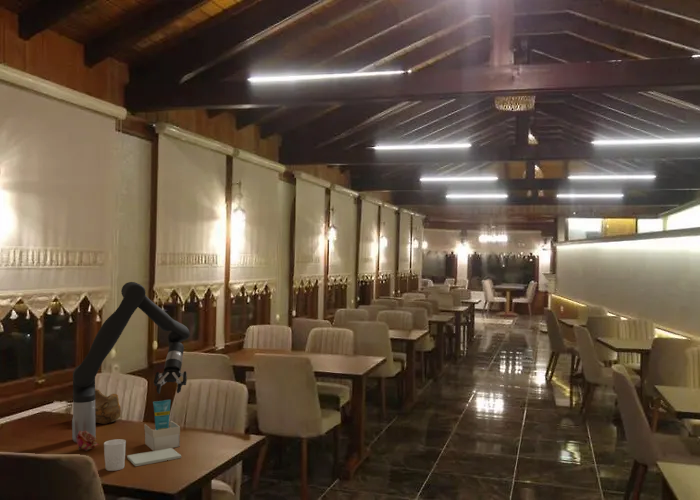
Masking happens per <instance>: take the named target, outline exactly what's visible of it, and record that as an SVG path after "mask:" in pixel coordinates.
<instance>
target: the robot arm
mask: <svg viewBox="0 0 700 500" xmlns="http://www.w3.org/2000/svg"><path fill="white" fill-rule="evenodd" d="M146 293H147V292H146V289H145V287H144V286H143V285H142V284H141V283H140V284H139V283H138V282H136V281H129V282H126V283H124V284H123V285H122V288H121V296H122V300H121V302H120V304H119V305H118V307H117V308H116V310H115V311H114V312H113V313H111V314H110V315H109V317H107V318H106V319H105V321H104V322H103V323H102V325H101V327H100V328H99V330H98V332H97V333H96V335H95V338H94V339H93V342H92V344H91V346H90V349H89V351H88V353H87V354H86V356H85V357H84V359H83V360H82V362H81V363H80V364H79V365H77V366H76V367H75V369H74V370H73V372H72V413H73V414H72V418H71V420H72V421H71V428H72V429H71V432H72V437H71V438H72V441H73V442H74V443H77V439H76V436H77V434H78V433H79V431H87V432H89V433H90V434H91V435H93V436H94V437H96V435H97V434H96V433H97V432H96V422H95V389H96V377H97V375H98V372H99V370H100V368H101V366H102V364H103V362H104V360H105V359H106V358H107V356H108V355H109V354H110V352H111V351H112V349H113V348H114V347H115V345H116V343H117V342H118V340H119V338H120V337H121V335H122V334H123V331H124V330H125V328H126V326H127V325H128V323H129V321H130V319H131V317H132V316H133V314H134V313H135V311H136V310H137V309H138V308H139V309H140V310H141V311H142V312H143V313H144V314H145V316H147V317H148V318H149V319H150V320H151V321H152V322H153V323H154V324H155V325H156V326H158V328H160V329H161V330H162V331H163V332H168V334H167V343H168V350H167V355H166V358H165V362H164V368H163V372H161V373H160V372H159V371H157V372H156V373H155V376H154V379H153V384H154V386H155V387H156V389H155V390H156V393H157V395H158V394H159V395H160V394H161V392H162V391H161V390H162V386H163V385H165V384H166V383H176V384H177V388H176V393H177V394H180V392H181V391H182V386H187V383H188V382H187V379H188V373H187V371H183V372H182V365H183V358H184V357H183V356H184V350H185V346H184V344H183V343H182V342H184V341H186V340H188V339H190V336H191V332H190V329H189V328H188V327H187V326H186V325H184V324H183V323H181V322H179V321H178V320H176V319H173V318H172V317H171V316H170V315H169V314H168V313H167V312H166V311H165V310H164V309H162V308H161V307H160V306H158V305H157V304H156V303H155V302H153V300H151V299H150V298H149V297H148V296H147V295H146ZM181 377H182V380H181V379H180V378H181ZM96 438H97V437H96Z"/></svg>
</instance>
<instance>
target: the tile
mask: <svg viewBox="0 0 700 500" xmlns="http://www.w3.org/2000/svg"><path fill="white" fill-rule="evenodd" d="M126 458H127V460H128V461H129V462H130V463H131V464H132V465H134V467H139V466H140V467H141V466H145V465H151V464H155V463H161V462H167V460H168V461H173V460H178V459H182V455H181V453H179V452H177V451H176V449H174V448H167V449H161V450H156V451H153V450H152V451H145V452H140V453H139V452H138V453H133V454H128V455H127V454H126Z"/></svg>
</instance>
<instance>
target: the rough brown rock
mask: <svg viewBox="0 0 700 500" xmlns="http://www.w3.org/2000/svg"><path fill="white" fill-rule="evenodd" d="M121 415H122V407H121V405H120V401H119V395H118V394H117V393H111V394H109V395H108V396H107V395H105V394H104V393H102V391H100V389H97V388H95V423H97V424H101V425H102V424H103V425H108V423H113V422H116V421H117V420H119V418H120V417H121Z"/></svg>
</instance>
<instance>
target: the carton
mask: <svg viewBox="0 0 700 500" xmlns="http://www.w3.org/2000/svg"><path fill="white" fill-rule="evenodd" d="M180 434H181V426H180V425H178V424H177V423H176V422H174V421H172V420H170V419H169V428H167V429H161V430H155V429H152V428H151V427H150V426H149V425H147V424H146V423H144V444H145V446H147V447H148V448H149V449H150V450H152V451H156V450H161V449H167V448H172V449H174V448H179V447H180V444H181V443H180V442H181V441H180V439H181V438H180V436H181V435H180Z"/></svg>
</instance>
